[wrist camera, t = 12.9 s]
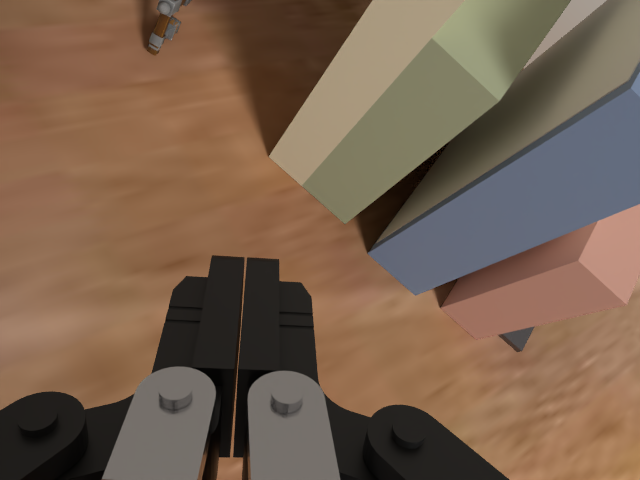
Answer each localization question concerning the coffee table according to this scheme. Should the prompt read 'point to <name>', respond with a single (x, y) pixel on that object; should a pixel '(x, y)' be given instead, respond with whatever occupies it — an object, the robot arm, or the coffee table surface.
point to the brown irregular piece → (165, 23)
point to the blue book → (530, 159)
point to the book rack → (438, 129)
